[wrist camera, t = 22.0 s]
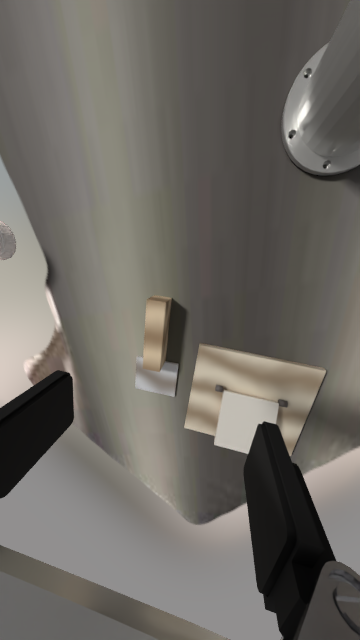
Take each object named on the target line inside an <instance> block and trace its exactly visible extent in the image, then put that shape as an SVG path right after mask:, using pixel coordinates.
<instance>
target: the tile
mask: <svg viewBox="0 0 360 640" xmlns="http://www.w3.org/2000/svg"><path fill="white" fill-rule="evenodd" d="M278 407H279V403H278V402H276V401H272V400H267V399H263V398H259V397H255V396H250V395H246V394H242V393H237V392H233V391H229V390H224V389H223V395H222V400H221V406H220V411H219V417H218V422H217V428H216V433H215V439H214V445H217V446H221V447H225V448H228V449H232V450H236V451H239V452H243V453H247V454H248V453H249V450H250V447H251V444H252V441H253V438H254V435H255V432H256V429H257V426H258V424H262V423H263V421H265V422H269V423H273V424H276V420H277V414H278Z"/></svg>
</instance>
